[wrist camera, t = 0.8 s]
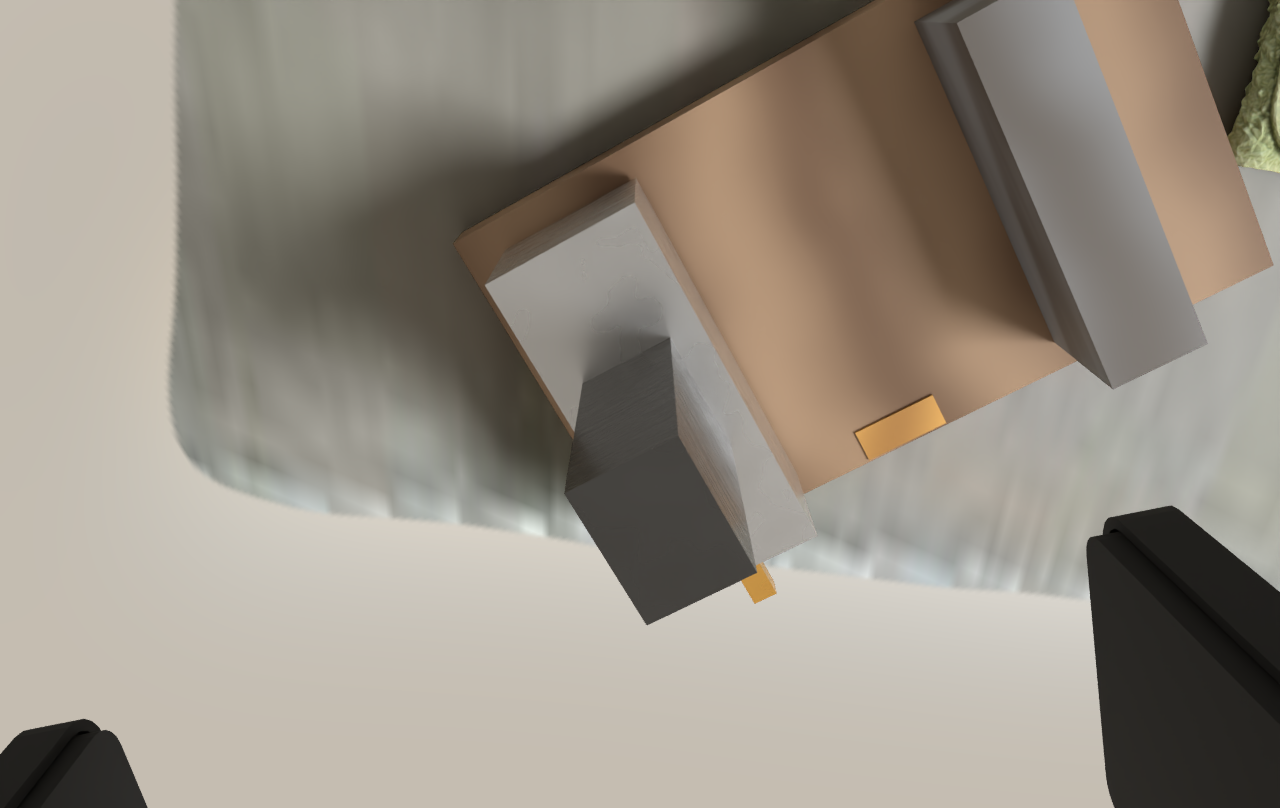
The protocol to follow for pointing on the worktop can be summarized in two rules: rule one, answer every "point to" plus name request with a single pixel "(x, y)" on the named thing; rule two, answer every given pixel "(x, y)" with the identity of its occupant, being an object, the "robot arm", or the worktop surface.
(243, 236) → the worktop surface
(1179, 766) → the robot arm
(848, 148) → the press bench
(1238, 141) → the washcloth
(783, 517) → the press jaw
